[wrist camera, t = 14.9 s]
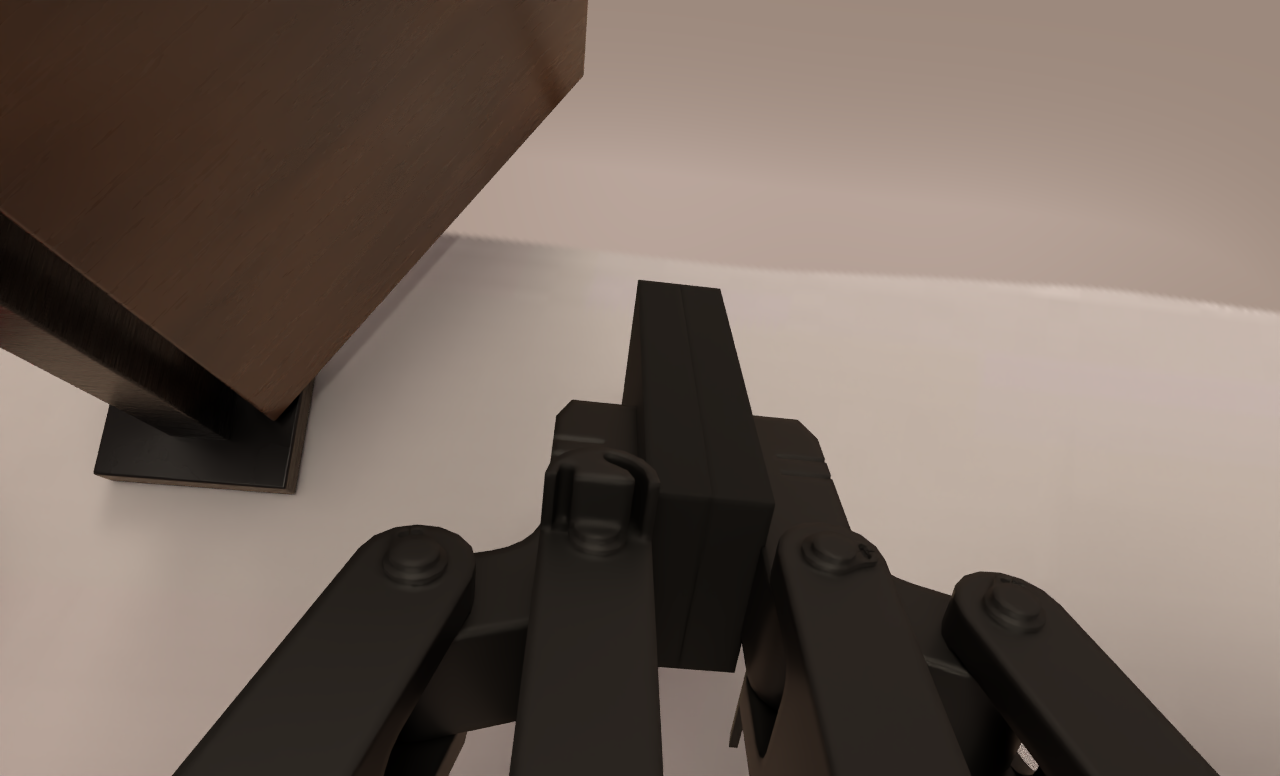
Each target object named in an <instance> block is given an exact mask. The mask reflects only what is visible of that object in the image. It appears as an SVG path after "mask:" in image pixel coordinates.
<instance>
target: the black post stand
mask: <svg viewBox="0 0 1280 776" xmlns="http://www.w3.org/2000/svg"><path fill="white" fill-rule="evenodd" d="M0 348H2V349H4V350H6V351H8V352H10V353H12V354H14V355H16V356H18V357H20V358H22V359H24V360H25V361H27V362H29V363H31V364H33V365H35V366H37V367H39V368H41V369H43V370H45V371H47V372H49V373H50V374H52V375H54V376H56V377H58V378H60V379H62V380H64V381H66V382H68V383H70V384H72V385H74V386H75V387H77V388H79V389H81V390H83V391H85V392H87V393H89V394H91V395H93V396H95V397H97V398H99V399H100V400H102V401H104V402H106V403H108V404H110V405H109V409H108V413H107V418H106V422H105V426H104V430H103V434H102V439H101V443H100V447H99V451H98V456H97V460H96V464H95V468H94V474H95V475H98V476H100V477H103V478H106V479H109V480H114V481H127V482H140V483H153V484H166V485H179V486H191V487H204V488H217V489H230V490H243V491H256V492H269V493H282V494H294V493H295V490H296V484H297V478H298V472H299V467H300V461H301V455H302V449H303V443H304V438H305V432H306V426H307V420H308V415H309V409H310V403H311V397H312V391H313V386H314V380H315V377H314V378H313V379H312V380H311V381H310V383H309V384H308V385H307V386H306V387H305V388H304V389H303V390H302V392H301V393H300V394H299V395H298V396H297V397H296V398H295V399H294V400H293V402H292V403H291V404H290V405H289V406H288V407H287V408H286V409H285V411H284V412H283V413H282V414H281V415H280V416H279V417H278V418H277V420H275V421H273V420H271V419H270V418H268V417H267V416H266V415H264V414H263V413H262V412H260V411H259V410H258V409H256V408H255V407H254V406H252V405H251V404H250V403H249V402H247V401H246V400H245V399H243V398H242V397H241V396H239V395H238V394H237V393H235V392H234V391H233V390H232V389H230V388H229V387H228V386H226V385H225V384H224V383H222V382H221V381H220V380H218V379H217V378H216V377H215V376H213V375H212V374H211V373H209V372H208V371H207V370H205V369H204V368H203V367H201V366H200V365H199V364H198V363H196V362H195V361H194V360H192V359H191V358H190V357H188V356H187V355H186V354H184V353H183V352H182V351H181V350H179V349H178V348H177V347H175V346H174V345H173V344H171V343H170V342H169V341H167V340H166V339H165V338H164V337H162V336H161V335H160V334H158V333H157V332H156V331H154V330H153V329H152V328H150V327H149V326H148V325H147V324H145V323H144V322H143V321H141V320H140V319H139V318H137V317H136V316H135V315H133V314H132V313H131V312H130V311H128V310H127V309H126V308H124V307H123V306H122V305H120V304H119V303H118V302H116V301H115V300H114V299H113V298H111V297H110V296H109V295H107V294H106V293H105V292H103V291H102V290H101V289H99V288H98V287H97V286H96V285H94V284H93V283H92V282H90V281H89V280H88V279H86V278H85V277H84V276H82V275H81V274H80V273H79V272H77V271H76V270H75V269H73V268H72V267H71V266H69V265H68V264H67V263H65V262H64V261H63V260H62V259H60V258H59V257H58V256H56V255H55V254H54V253H52V252H51V251H50V250H49V249H47V248H46V247H45V246H43V245H42V244H41V243H39V242H38V241H37V240H35V239H34V238H33V237H32V236H30V235H29V234H28V233H26V232H25V231H24V230H22V229H21V228H20V227H18V226H17V225H16V224H15V223H13V222H12V221H11V220H9V219H8V218H7V217H5V216H4V215H3V214H1V213H0Z"/></svg>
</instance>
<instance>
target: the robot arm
mask: <svg viewBox="0 0 1280 776" xmlns="http://www.w3.org/2000/svg"><path fill="white" fill-rule="evenodd" d="M824 460H825V458H824V456H823V453H822V450H821V447H820V445H819V442H818V439H817V438H816V437H815V436H814V435H813V434H812V433H811V432H810V431H809V430H808V429H807V428H806V427H805V426H804V425H803V424H802V423H801V422H800V421H798V420H794V419H784V418H774V417H763V416H753V414H752V411H751V407H750V403H749V399H748V395H747V391H746V387H745V383H744V379H743V376H742V372H741V368H740V364H739V360H738V356H737V352H736V348H735V344H734V341H733V337H732V333H731V329H730V325H729V321H728V317H727V313H726V309H725V306H724V302H723V298H722V294H721V290H720V289H717V288H708V287H699V286H690V285H681V284H672V283H663V282H654V281H645V280H638V286H637V293H636V301H635V309H634V316H633V324H632V331H631V339H630V346H629V354H628V361H627V369H626V377H625V384H624V392H623V399H622V405H619V404H609V403H599V402H589V401H579V400H571V401H570V402H569V403H568V404H567V405H566V406H565V407H564V408H563V409H562V410H561V411H560V413H559V414H558V415H557V416H556V422H555V430H554V439H553V446H552V454H551V461H550V464H549V466H548V468H547V470H546V472H545V481H544V492H543V503H542V515H541V524H540V525H539V526H538V527H537V529H536V530H535V531H534V532H533V533H532V534H531V535H530V536H528V537H527V538H525V539H524V540H523V541H521V542H518V543H516V544H513V545H511V546H509V547H505V548H501V549H496V550H492V551H485V552H478V553H473V550H472V547H471V546H470V545H469V544H468V543H467V542H466V541H465V540H464V539H463V538H462V537H461V536H459V535H458V534H456V533H453V532H451V531H448V530H446V529H443V528H441V527H434V526H426V525H410V526H402V527H395V528H392V529H390V530H387V531H384V532H382V533H379V534H377V535H374V536H373V537H372V538H371V539H369V540H368V541H367V542H366V543H364V544H363V545H362V546H361V547H360V548H359V549H358V550H357V551H356V552H355V553H354V555H353V556H352V557H351V558H350V560H349V561H348V562H347V563H346V564H345V566H344V567H343V568H342V569H341V570H340V572H339V573H338V574H337V575H336V577H335V578H334V579H333V580H332V581H331V583H330V584H329V585H328V586H327V588H326V589H325V590H324V591H323V592H322V594H321V595H320V596H319V597H318V598H317V600H316V601H315V602H314V603H313V605H312V606H311V607H310V608H309V609H308V611H307V612H306V613H305V614H304V616H303V617H302V618H301V619H300V620H299V622H298V623H297V624H296V625H295V626H294V628H293V629H292V630H291V631H290V633H289V634H288V635H287V636H286V637H285V639H284V640H283V641H282V642H281V644H280V645H279V646H278V647H277V648H276V650H275V651H274V652H273V653H272V654H271V656H270V657H269V658H268V659H267V661H266V662H265V663H264V664H263V665H262V667H261V668H260V669H259V670H258V672H257V673H256V674H255V675H254V676H253V678H252V679H251V680H250V681H249V682H248V684H247V685H246V686H245V687H244V689H243V690H242V691H241V692H240V693H239V695H238V696H237V697H236V698H235V700H234V701H233V702H232V703H231V704H230V706H229V707H228V708H227V709H226V710H225V712H224V713H223V714H222V715H221V717H220V718H219V719H218V720H217V721H216V723H215V724H214V725H213V726H212V727H211V729H210V730H209V731H208V732H207V734H206V735H205V736H204V737H203V738H202V740H201V741H200V742H199V743H198V745H197V746H196V747H195V748H194V749H193V751H192V752H191V753H190V754H189V755H188V757H187V758H186V759H185V760H184V762H183V763H182V764H181V765H180V766H179V768H178V769H177V770H176V771H175V773H174V774H173V775H172V776H448V775H449V773H450V771H451V769H452V767H453V765H454V763H455V761H456V759H457V757H458V755H459V753H460V751H461V749H462V747H463V745H464V743H465V739H466V734H467V732H468V731H472V730H477V729H482V728H486V727H491V726H496V725H500V724H505V723H510V722H514V721H516V725H515V733H514V741H513V749H512V757H511V765H510V773H509V776H663V758H662V739H661V719H660V700H659V680H658V667H667V668H680V669H693V670H706V671H718V672H731V673H735V669H736V664H737V660H738V656H739V652H740V648H741V644H742V647H743V653H744V659H745V665H746V673H745V677H744V681H743V685H742V689H741V693H740V697H739V701H738V705H737V709H736V713H735V717H734V720H733V724H732V728H731V732H730V741H729V747H734V748H738V744H739V740H740V736H741V732H742V731H743V734H744V741H745V748H746V755H747V762H748V769H749V776H1220V775H1219V774H1218V773H1217V772H1216V771H1215V770H1214V769H1213V768H1212V767H1211V766H1210V765H1209V764H1208V762H1207V761H1206V760H1205V759H1204V758H1203V757H1202V756H1201V755H1200V754H1199V753H1198V752H1197V751H1196V750H1195V749H1194V748H1193V746H1192V745H1191V744H1190V743H1189V742H1188V741H1187V740H1186V739H1185V738H1184V737H1183V736H1182V735H1181V734H1180V733H1179V731H1178V730H1177V729H1176V728H1175V727H1174V726H1173V725H1172V724H1171V723H1170V722H1169V721H1168V720H1167V719H1166V718H1165V716H1164V715H1163V714H1162V713H1161V712H1160V711H1159V710H1158V709H1157V708H1156V707H1155V706H1154V705H1153V704H1152V703H1151V701H1150V700H1149V699H1148V698H1147V697H1146V696H1145V695H1144V694H1143V693H1142V692H1141V691H1140V690H1139V689H1138V688H1137V686H1136V685H1135V684H1134V683H1133V682H1132V681H1131V680H1130V679H1129V678H1128V677H1127V676H1126V675H1125V674H1124V673H1123V671H1122V670H1121V669H1120V668H1119V667H1118V666H1117V665H1116V664H1115V663H1114V662H1113V661H1112V660H1111V659H1110V658H1109V656H1108V655H1107V654H1106V653H1105V652H1104V651H1103V650H1102V649H1101V648H1100V647H1099V646H1098V645H1097V644H1096V643H1095V642H1094V640H1093V639H1092V638H1091V637H1090V636H1089V635H1088V634H1087V633H1086V632H1085V631H1084V630H1083V629H1082V628H1081V627H1080V625H1079V624H1078V623H1077V622H1076V621H1075V620H1074V619H1073V618H1072V617H1071V616H1070V615H1069V614H1068V613H1067V612H1066V610H1065V609H1064V608H1063V607H1062V606H1061V605H1060V604H1059V603H1057V602H1056V601H1055V600H1054V599H1053V598H1051V597H1050V596H1049V595H1048V594H1047V593H1045V592H1044V591H1043V590H1041V589H1039V588H1037V587H1036V586H1034V585H1032V584H1030V583H1028V582H1026V581H1024V580H1022V579H1019V578H1016V577H1013V576H1010V575H1006V574H1002V573H996V572H976V573H973V574H969V575H965V576H964V577H963V578H962V579H961V580H960V581H959V582H958V583H957V584H956V585H955V588H954V590H953V593H952V596H951V595H947V594H944V593H941V592H938V591H934V590H931V589H928V588H925V587H921V586H918V585H915V584H912V583H909V582H907V581H904V580H901V579H899V578H896V577H895V576H893V575H891V573H890V571H889V568H888V566H887V563H886V561H885V559H884V558H883V556H882V555H881V553H880V552H879V550H878V549H877V547H876V546H874V545H873V544H872V543H871V542H869V541H868V540H867V539H865V538H864V537H863V536H861V535H860V534H858V533H855V532H853V531H851V529H850V526H849V524H848V521H847V518H846V515H845V513H844V510H843V507H842V505H841V502H840V499H839V496H838V494H837V491H836V488H835V485H834V483H833V480H832V479H830V477H831V475H830V472H829V469H828V466H827V464H826V463H824ZM1021 742H1022V743H1023V745H1024V746H1025V748H1026V749H1027V750H1028V752H1029V753H1030V754H1031V756H1032V757H1033V758H1034V760H1035V761H1036V762H1037V764H1038V765H1039V767H1038V769H1037V770H1036V771H1034V770H1032V769H1031V768H1030V767H1029V766H1028V765H1027V764H1026V763H1025V762H1024V761H1023V759H1022V758H1021V756H1020V755H1019V754H1018V752H1017V751H1018V749H1019V747H1020V744H1021Z"/></svg>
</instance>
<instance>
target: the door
mask: <svg viewBox="0 0 1280 776" xmlns="http://www.w3.org/2000/svg"><path fill="white" fill-rule="evenodd" d="M587 7H588V0H0V213H1V214H3V215H4V216H5V217H7V218H8V219H9V220H11V221H12V222H13V223H15V224H16V225H17V226H18V227H20V228H21V229H22V230H24V231H25V232H26V233H28V234H29V235H30V236H32V237H33V238H34V239H35V240H37V241H38V242H39V243H41V244H42V245H43V246H45V247H46V248H47V249H49V250H50V251H51V252H52V253H54V254H55V255H56V256H58V257H59V258H60V259H62V260H63V261H64V262H65V263H67V264H68V265H69V266H71V267H72V268H73V269H75V270H76V271H77V272H79V273H80V274H81V275H82V276H84V277H85V278H86V279H88V280H89V281H90V282H92V283H93V284H94V285H96V286H97V287H98V288H99V289H101V290H102V291H103V292H105V293H106V294H107V295H109V296H110V297H111V298H113V299H114V300H115V301H116V302H118V303H119V304H120V305H122V306H123V307H124V308H126V309H127V310H128V311H130V312H131V313H132V314H133V315H135V316H136V317H137V318H139V319H140V320H141V321H143V322H144V323H145V324H147V325H148V326H149V327H150V328H152V329H153V330H154V331H156V332H157V333H158V334H160V335H161V336H162V337H164V338H165V339H166V340H167V341H169V342H170V343H171V344H173V345H174V346H175V347H177V348H178V349H179V350H181V351H182V352H183V353H184V354H186V355H187V356H188V357H190V358H191V359H192V360H194V361H195V362H196V363H198V364H199V365H200V366H201V367H203V368H204V369H205V370H207V371H208V372H209V373H211V374H212V375H213V376H215V377H216V378H217V379H218V380H220V381H221V382H222V383H224V384H225V385H226V386H228V387H229V388H230V389H232V390H233V391H234V392H235V393H237V394H238V395H239V396H241V397H242V398H243V399H245V400H246V401H247V402H249V403H250V404H251V405H252V406H254V407H255V408H256V409H258V410H259V411H260V412H262V413H263V414H264V415H266V416H267V417H268V418H270V419H271V420H273V421H275V420H277V418H278V417H279V416H280V415H281V414H282V413H283V412H284V411H285V409H286V408H287V407H288V406H289V405H290V404H291V403H292V402H293V400H294V399H295V398H296V397H297V396H298V395H299V394H300V393H301V392H302V390H303V389H304V388H305V387H306V386H307V385H308V384H309V383H310V381H311V380H312V379H313V378H314V377H315V376H316V375H317V374H318V372H319V371H320V370H321V369H322V368H323V367H324V366H325V365H326V364H327V362H328V361H329V360H330V359H331V358H332V357H333V356H334V355H335V353H336V352H337V351H338V350H339V349H340V348H341V347H342V346H343V344H344V343H345V342H346V341H347V340H348V339H349V338H350V337H351V335H352V334H353V333H354V332H355V331H356V330H357V329H358V328H359V327H360V325H361V324H362V323H363V322H364V321H365V320H366V319H367V318H368V316H369V315H370V314H371V313H372V312H373V311H374V310H375V309H376V307H377V306H378V305H379V304H380V303H381V302H382V301H383V300H384V299H385V297H386V296H387V295H388V294H389V293H390V292H391V291H392V290H393V288H394V287H395V286H396V285H397V284H398V283H399V282H400V281H401V279H402V278H403V277H404V276H405V275H406V274H407V273H408V272H409V270H410V269H411V268H412V267H413V266H414V265H415V264H416V263H417V262H418V260H419V259H420V258H421V257H422V256H423V255H424V254H425V253H426V251H427V250H428V249H429V248H430V247H431V246H432V245H433V244H434V242H435V241H436V240H437V239H438V238H439V237H440V236H441V235H442V234H443V232H444V231H445V230H446V229H447V228H448V227H449V225H450V224H451V223H452V222H453V221H454V220H455V219H456V218H457V217H458V216H459V214H460V213H461V212H462V211H463V210H464V209H465V208H466V207H467V205H468V204H469V203H470V202H471V201H472V200H473V199H474V198H475V197H476V195H477V194H478V193H479V192H480V191H481V190H482V189H483V188H484V186H485V185H486V184H487V183H488V182H489V181H490V180H491V178H492V177H493V176H494V175H495V174H496V173H497V172H498V171H499V170H500V168H501V167H502V166H503V165H504V164H505V163H506V162H507V161H508V160H509V158H510V157H511V156H512V155H513V154H514V153H515V152H516V150H517V149H518V148H519V147H520V146H521V145H522V144H523V143H524V142H525V140H526V139H527V138H528V137H529V136H530V135H531V134H532V133H533V132H534V130H535V129H536V128H537V127H538V126H539V125H540V124H541V123H542V121H543V120H544V119H545V118H546V117H547V116H548V115H549V114H550V112H551V111H552V110H553V109H554V108H555V107H556V106H557V105H558V103H559V102H560V101H561V100H562V99H563V98H564V97H565V96H566V94H567V93H568V92H569V91H570V90H571V89H572V88H573V87H574V86H575V84H576V83H577V82H578V81H579V80H580V79H581V78H582V77H583V74H584V58H585V41H586V25H587Z"/></svg>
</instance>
